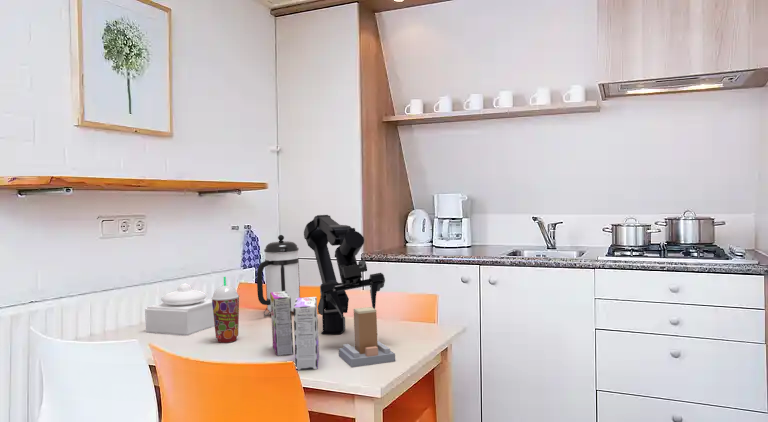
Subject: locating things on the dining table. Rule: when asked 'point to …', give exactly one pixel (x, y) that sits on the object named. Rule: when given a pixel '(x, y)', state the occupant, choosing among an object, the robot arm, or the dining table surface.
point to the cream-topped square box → (365, 328)
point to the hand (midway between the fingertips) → (358, 313)
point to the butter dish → (180, 313)
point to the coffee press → (279, 271)
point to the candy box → (306, 333)
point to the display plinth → (366, 355)
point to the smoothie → (226, 313)
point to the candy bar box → (281, 323)
